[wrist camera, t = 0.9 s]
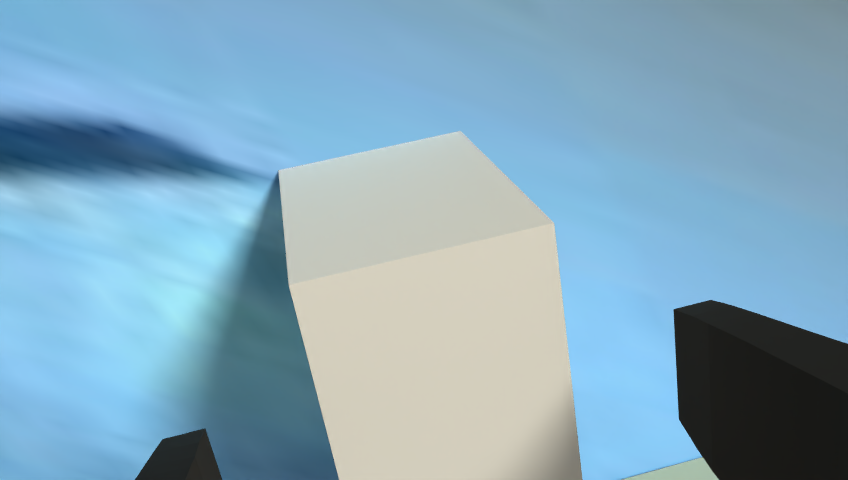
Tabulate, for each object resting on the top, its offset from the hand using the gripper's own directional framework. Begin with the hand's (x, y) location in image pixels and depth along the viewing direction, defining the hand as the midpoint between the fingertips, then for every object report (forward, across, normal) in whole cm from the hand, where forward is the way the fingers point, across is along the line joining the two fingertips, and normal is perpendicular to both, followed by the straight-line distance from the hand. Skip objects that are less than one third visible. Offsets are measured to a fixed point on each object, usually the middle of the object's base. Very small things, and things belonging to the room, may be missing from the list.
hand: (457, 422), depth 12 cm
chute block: (+7, 0, 0) cm, 7 cm away
